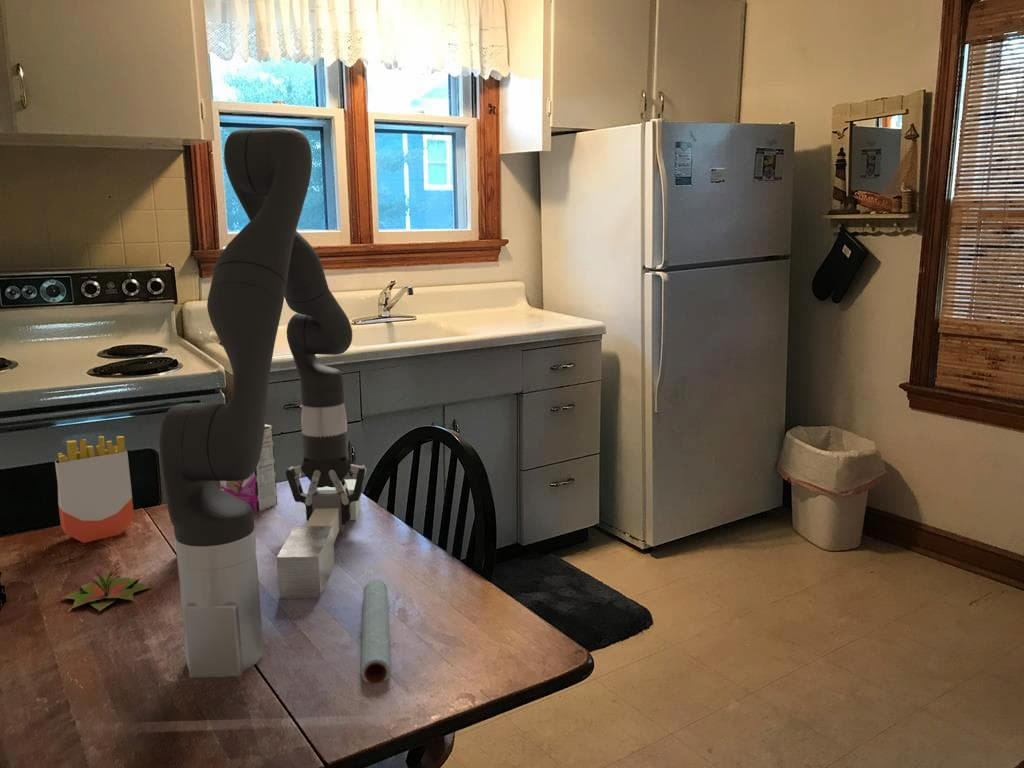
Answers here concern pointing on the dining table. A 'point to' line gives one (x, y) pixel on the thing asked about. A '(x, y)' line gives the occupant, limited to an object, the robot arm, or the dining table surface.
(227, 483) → the candy bar box
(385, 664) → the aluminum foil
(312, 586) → the cream rectangular block
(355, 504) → the socket block
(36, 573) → the dining table surface
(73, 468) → the french fries container
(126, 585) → the lily flower
